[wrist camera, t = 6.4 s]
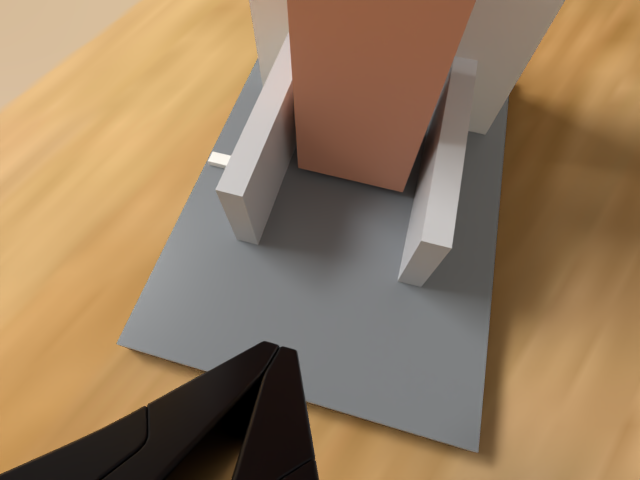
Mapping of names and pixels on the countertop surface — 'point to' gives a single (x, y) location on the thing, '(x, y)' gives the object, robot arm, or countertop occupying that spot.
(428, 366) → the test rig
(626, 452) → the countertop surface
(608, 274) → the countertop surface
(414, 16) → the plug
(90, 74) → the countertop surface
